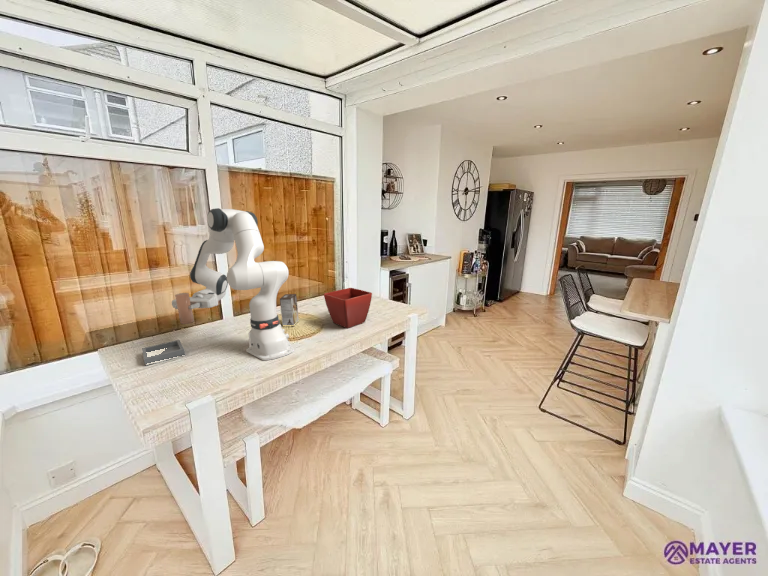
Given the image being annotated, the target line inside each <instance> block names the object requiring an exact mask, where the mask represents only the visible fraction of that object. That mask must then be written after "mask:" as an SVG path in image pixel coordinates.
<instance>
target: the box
mask: <svg viewBox="0 0 768 576" xmlns="http://www.w3.org/2000/svg"><path fill="white" fill-rule="evenodd" d="M164 348H165V351H163V352H162V353H161V354H159V355H155V356H151V357H147V353H146V352H151V351H155V350H160V349H164ZM166 348H167V349H166ZM185 351H186V350H185V348H184V346H183V344H182V342H181V340H180V339H177V340H171V341H167V342H164V343H163V342H162V343H160V344H159V343H158V344H155V345H151V346H150V345H149V346H146V347H145V346H144V347H143V348H141V352H142V355H143V360H144V365H145V364H147V363H151V362H155V361H160V360H164V359H169V358H173V357H177V356H182V355H185V356H186V352H185ZM182 357H183V356H182Z"/></svg>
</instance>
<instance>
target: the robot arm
mask: <svg viewBox="0 0 768 576" xmlns="http://www.w3.org/2000/svg"><path fill="white" fill-rule="evenodd" d="M206 221H207V222H206V223H207V226H208V227H209V229H210V232H209V237H208V239H206V240H204V241H203V242H202V243H201V245H200V247H199V250H198V253H197V256H196V259H195V261H194V264H193V266H192V269H191V270H190V272H189V277H190V281H191V282H192V283H195V284H198V285H201V286H203V287H205V288H204V289H201V290H198V291H196V292H194V293H193V295H192V296H189V298H190V303H191V305H189V306H188V307H189V309H192V310H194V309H211V308H213V307H217V306H219V302H220V301H221V300H222V299H223V298H225V296H226V294H227V288H228V286H229V287H230V288H231V289H233V290H235V291H248V290H254V289H255V290H256V289H258V288H260V290H259V292H258V293H257V294H256V295H255V296H254V295H253V297H252V298H251V299H250V301H249V302H248V303H249V304H248V305H249V313H250V318H249V320H250V327H251V329H250V330H249V331H248V344H249V347H247V348H246V353H248V354H250V355H252V356H254V357H255V358H258V359H259V360H262V361H268V360H269V361H270V360H275V359H278V358H282V357H284V356H287V355H290V354H292V353H293V352H294V350H295V349H294V347H293V345H292V344H291V342H290V341H289V338H290V335H289V333H285V330H286V329H285V328H283V326H282V325H281V322H280V318H279V315H278V312H277V311H278V310H277V297H278V293H279V291H280V288H282V286H283V285H284V283H285V282H287V280H288V278H289V274H290V273H289V272H290V271H289V268H288V266H287V265H286V263H285V262H283V261H282V260H281V261H279V260H268V261H267V260H266V261H260V262H257V261H255V259H256V258H258V257H260V255H262V254H263V252H264V250H265V246H264V242H263V239H262V236H261V233H260V230H259V227H258V225H259V223H258V217H257V216H256V214H255V213H254V212H251V211H248V210H239V209H234V208H212V209H209V211H208V212H207V216H206ZM234 244H235V246H236V251H237V254H236V255H237V256H236V260H235V262H234V264H233V265H232V266H231V267H230V268H229V269H228V270H227V273H226V274H225V273H224V274H223V273H221V272H219V271H216V270H214V269H212V268H209V266H207V262H208V260H209V257H210V255H211V254H213V255H214V254H215V255H223V254H226V253H228V252H230V251H232V249H233V247H234ZM171 306H172V308H174V309H175V310H178V307H177V302H176V298H175V299H173V300H172V301H171Z"/></svg>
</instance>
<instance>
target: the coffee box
mask: <svg viewBox="0 0 768 576" xmlns="http://www.w3.org/2000/svg"><path fill="white" fill-rule="evenodd" d="M279 303H280V314H281V323H282V326H283V325H294V324H295V323H296V322H297V321H298V320H299V321H300V319H299V310H298V309H299V308H298V299H297V293H291V294H290V293H287V294H286V293H285V294H284V295H282V296H281V297H280V298H279ZM299 321H298V322H299Z"/></svg>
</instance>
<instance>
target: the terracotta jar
mask: <svg viewBox="0 0 768 576" xmlns="http://www.w3.org/2000/svg"><path fill="white" fill-rule="evenodd" d="M189 297H190V294H189V292H181V293H177V294H175V295H174V298H175V299H176V302H177V307H178V309H177V311H178V317H179V321H180V324H181V325H189V324H191V323H194V322H195V320H194V314H193V309H189V307H188V306H189V305H191V303H190V298H189Z"/></svg>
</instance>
